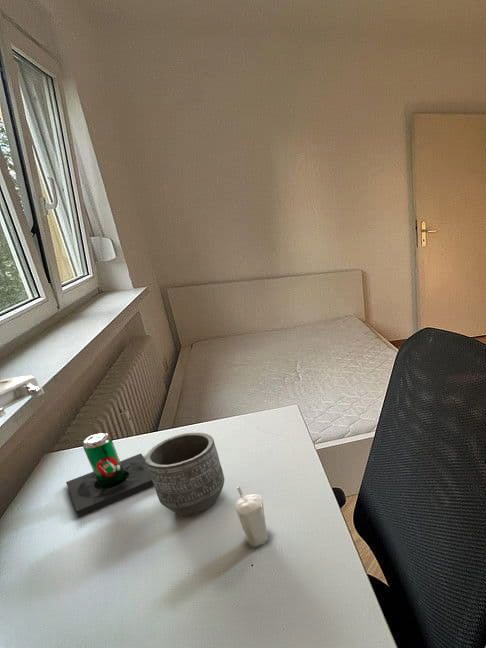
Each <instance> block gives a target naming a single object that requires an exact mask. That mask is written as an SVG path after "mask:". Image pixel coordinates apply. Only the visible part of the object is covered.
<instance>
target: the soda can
mask: <svg viewBox="0 0 486 648" xmlns="http://www.w3.org/2000/svg"><path fill="white" fill-rule="evenodd" d="M82 448H83V451H84V453H85V456H86V457H87V460H88V462H89V465H90V467H91V470H92V472H94V474H95V477H96V479H97V481H98V484H99V488H100V489H108V488H112V487H114V486H117V485H119V484H121V483H122V482H124V481H125V480H126V479H127V478H128V477H127V476H126V475H125V473H124V470H123V467H122V465H121V462H120V461H121V460H120V457H119V455H118V452H117V449H116V446H115V444H114V442H113V439H112V437H111V436H110V435H109V434H108V433H106V432H98V433H94V434H91V435H88V437H86V438H84V439H83V445H82Z"/></svg>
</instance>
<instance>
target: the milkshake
mask: <svg viewBox="0 0 486 648" xmlns="http://www.w3.org/2000/svg"><path fill="white" fill-rule="evenodd" d="M236 489H237V492H238V494H239V496H240V498H239V499H238V500H237V501H236V502H235V506H234V510H235V512H236V515H237V517H238V519H239V521H240V524H241V527H242V530H243V532H244V534H245V537H246V540H247V543H248V545H250V546H251V547H256V548H257V547H259V546H262V545H264V544H265V543H266V542H267V540H268V531H267V524H266V517H265V508H264V499H263V498H262V497H261V495H259V494H258V493H249V494H247V495H244V494H243V491H242V489H241V487H240V486H238V487H237V488H236Z"/></svg>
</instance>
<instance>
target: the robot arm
mask: <svg viewBox="0 0 486 648" xmlns="http://www.w3.org/2000/svg"><path fill="white" fill-rule="evenodd" d="M44 394H45V390H44V388H43V387H42V386H40V385H39V382H38V380H37V379H36V377H35V376H34V375H23V376H21V375H20V376H12V377H7V378H6V377H5V378H2V379H0V418H3V417H4V416H5V415H6V414H7V413H6V411H5V410H6V409H8V408H10V407H11V406H13V405H15V404H17V403H19V402H21V401H23V400H25V399H27V398H29V397H30V396H31V398H39V397H41V396H42V395H44Z"/></svg>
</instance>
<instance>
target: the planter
mask: <svg viewBox="0 0 486 648" xmlns="http://www.w3.org/2000/svg"><path fill="white" fill-rule="evenodd" d="M219 457H220V456H219V453H218V450H217V446H216V444H215V440H214V437H212V435H210V434H208V433H205V432H186V433H181V434H177V435H174V436H171V437H167V439H164V440H162V441H161V442H159V443H157V444H156V445H154V446H153V447H151V448H150V449H149V450H148V452H147V453H146V454H145V457H144V458H145V461H146V464H147V467H148V471H149V473H150V476H151V479H152V481H153V484H154V486H153V487H154V490H155V493H156V495H157V498H158V501H159V503H160V504H161V506H163V507H165V508H166V509H167V510H169V511H171V512H173V513H175V514H177V515H179V516H183V517H184V516H186V517H191V516H194V515H199V514H201V513H204V512H206V511H208V510H209V509H211V508H212V507H213V506H214V505H215V504H216V503H217V502H218V500H219V498H220V496H221V493H222V491H223V488H224V485H225V480H226V479H225V475H224V472H223V468H222V465H221V461H220V458H219Z"/></svg>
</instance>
